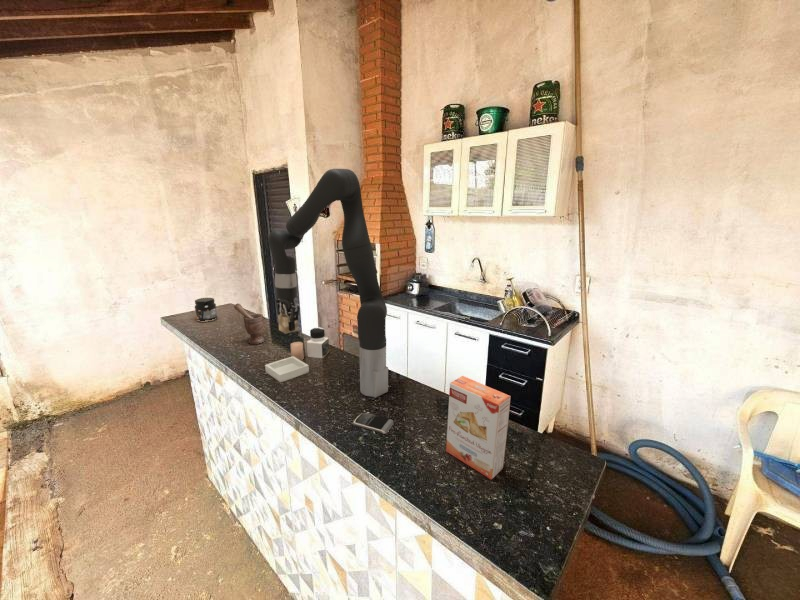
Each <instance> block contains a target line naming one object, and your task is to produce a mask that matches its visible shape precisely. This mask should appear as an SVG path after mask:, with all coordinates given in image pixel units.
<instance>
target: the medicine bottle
mask: <svg viewBox="0 0 800 600" xmlns="http://www.w3.org/2000/svg"><path fill="white" fill-rule="evenodd" d="M309 332H310V333H309V334H310V339H308V340H307V341H306V351H307V357H308V358H314V359H324V358H325V357H326V356H327V355H328V353H330V343H329V342H330V341H329V337H326V334H325V333H326V331H325V329H324V328H323V327H314V328H311V329H310V330H309Z"/></svg>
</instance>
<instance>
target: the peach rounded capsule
mask: <svg viewBox="0 0 800 600" xmlns="http://www.w3.org/2000/svg"><path fill="white" fill-rule="evenodd" d="M304 354H305V353H304V343H303V342H302V341H294V342H292V343H290V355H291V356H290V357H292V356H294V357H295V358H297V359H299V360H301V361H302V362H303V361H304V360H303V359H304V358H305V355H304Z"/></svg>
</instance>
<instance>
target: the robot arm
mask: <svg viewBox="0 0 800 600" xmlns="http://www.w3.org/2000/svg"><path fill="white" fill-rule="evenodd" d="M361 192H362V191H361V185H360V181H359V178H358V176H357V175H356V173H355V172H354V171H353V170H352V169H349V168H331V169H328V170H326V171H325V172H324V173H323V175H322V176H321V178H320V179H319V180H318V182H317V184H316V186H315V187H314V188H313V190H312V191H311V192H310V194H309V196H308V197H307V199H306V200H305V201H304V203H302V205H301V206H300V207H299V208H298V210H297V211H295V213H293V215H291V217H290V218H289V219H287V221H286V224H285V226H286V228H285V229H274V230H272V231H270V233H269V235H268V239H267V240H268V246H269V249H270V253H271V255H272V259H273V261H274V270H275V271H274V273H275V275H274V284H275V286H274V287H275V298H276V299H275V306H276V311H277V316H278V315H281V314H286V316H287V317H288V321H289V322H288V324H289V331H294V330H295V321H297V322H298V321H299V314H300V306H299V305H296V303H295V299H296V298H297V297H298V288H297V287H298V286H297V285H298V284H297V283H298V281H297V280H298V279H297V275H296V260H295V258H294V257H292V256H291V255H287V253H286V251H287V250H292V249H295V248H297V247H299V245H300V244H301V242H302V240H303V238H304V236H305V235H306V234H307V232H310V230H311V229H312V228H313V227H314V226H315V225H316V224H317V222H318V220H319V217H320V215H321V213H322V212H323V211H324V210H325V208H327V207H328V206H329V205H331V204H332V203H334V202H336V201H337V202H338V201H340V204H341V207H342V212H343V219H344V220H343V227H342V234H341V235H342V236H341V248H342V250H343V255H344V259H345V262H346V265H347V268H348V270H349V273H350V274H351V276H352V278H353V280H354V282H355V284H356V286H357V291H358V296H359V302H360V307H359V309H358V311H357V318H356V319H357V338H358V342H359V343H358V344H359V347H358V348H359V383H360V384H359V388H360V389H359V391H360V393H361V394H362V395H364V396H367V397H372V398H375V399H376V398H378V397H380V396H382V395H384V394H385V393H388V392H389V367H388V366H387V335H386V334H387V333H386V320H387V319H386V318H387V315H388V313H387V312H388V309H387V308H388V307H387V304H386V302H385V299H384V297H383V293H382V291H381V290H382V289H381V287H380V285H379V284H380V283H379V279H378V274H377V273H378V272H377V267H376V261H375V256H374V250H373V246H372V242H371V239H370V236H369V231H368V227H367V226H368V225H367V221H366V218H365V212H364V205H363V199H362V193H361ZM290 315H291V318H290ZM295 316H296V317H295ZM294 332H295V331H294Z"/></svg>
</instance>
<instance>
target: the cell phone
mask: <svg viewBox="0 0 800 600" xmlns="http://www.w3.org/2000/svg"><path fill="white" fill-rule="evenodd" d="M353 424H354V426H356V427H359V428H363V429H366V430H371V431H372V432H376V433H380V434H388V432H389V430H390V429H391V428H392V426H393V425H394V420H393V419H390V418H387V417H384V416H379V415H375V414H372V413H368V412H362V413H360V414H359V415H358V416H356V418H355V419H354V421H353Z"/></svg>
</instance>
